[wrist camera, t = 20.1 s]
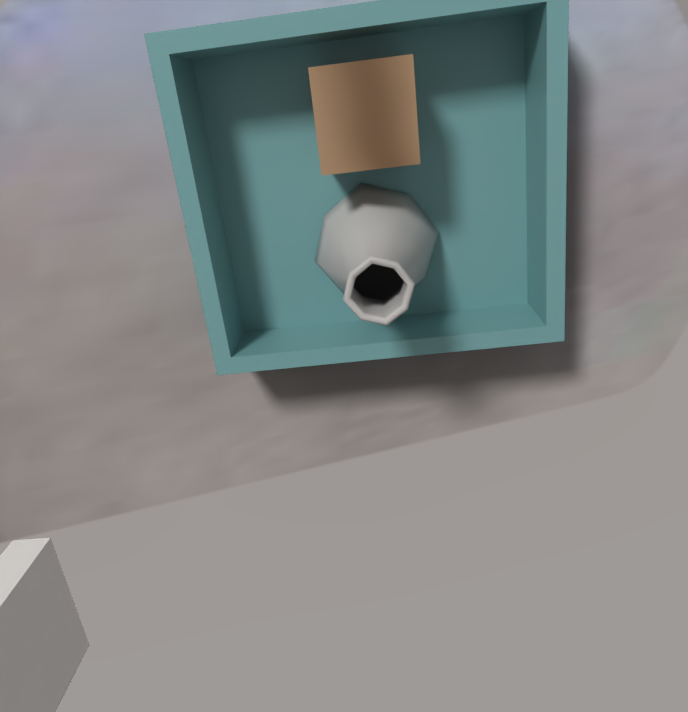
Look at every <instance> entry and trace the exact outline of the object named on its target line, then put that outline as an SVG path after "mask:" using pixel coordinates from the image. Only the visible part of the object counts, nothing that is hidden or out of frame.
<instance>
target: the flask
mask: <svg viewBox="0 0 688 712" xmlns="http://www.w3.org/2000/svg"><path fill="white" fill-rule="evenodd" d="M438 233H439V231H438V230H437V229H436V227H435V226H434V225H433V224H432V222H431V221H430V220H429V219H428V217H427V216H426V215H425V214H424V212H423V211H422V210H421V209H420V207H419V206H418V205H417V203H416V202H415V201H414V200H413V198H412V197H411V196H410V195H409V194H406V193H402V192H398V191H394V190H390V189H385V188H381V187H377V186H373V185H368V184H364V183H361V184H359V185H358V186H357V187H356V188H355V189H354V190H352V191H351V192H350V193H349V194H348V195H347V196H346V197H344V198H343V199H342V200H341V201H340V202H339V203H337V204H336V205H335V206H334V207H333V208H332V209H331V210H329V211H328V212H327V213H326V214H325V215H324V219H323V223H322V228H321V233H320V238H319V242H318V247H317V252H316V257H315V262H316V263H317V265H318V266H319V267H320V268H321V269H322V270H323V271H324V273H325V274H326V275H327V276H328V277H329V278H330V279H331V281H332V282H333V283H334V284H335V285H336V286H337V287H338V288H339V290H340V291H341V292H342V293H343V294H344V296H343V301H344V302H345V303H346V304H347V305H348V306H349V307H350V309H351V310H352V311H353V312H354V313H355V314H356V315H357V317H358V318H359V319H360V320H363V321H367V322H372V323H376V324H381V325H385V326H387V325H388V324H390V323H391V322H392V321H394V320H395V319H396V318H398V317H399V316H400V315H401V314H403V313H404V312H405V311H407V310H408V307H409V304H410V300H411V297H412V293H413V290H414V286H416V285H417V284H418V283H419V282H421V281H422V280H423V279H424V278H426V275H427V272H428V268H429V265H430V261H431V258H432V254H433V251H434V247H435V244H436V240H437V237H438Z"/></svg>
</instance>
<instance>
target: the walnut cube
mask: <svg viewBox="0 0 688 712" xmlns="http://www.w3.org/2000/svg"><path fill="white" fill-rule="evenodd" d="M308 72H309V80H310V88H311V96H312V104H313V112H314V120H315V128H316V136H317V144H318V152H319V160H320V168H321V176H322V175H331V174H339V173H348V172H357V171H365V170H374V169H382V168H391V167H400V166H408V165H417V164H420V150H419V135H418V120H417V105H416V90H415V75H414V60H413V54H408V55H401V56H393V57H385V58H378V59H370V60H362V61H354V62H347V63H339V64H331V65H323V66H316V67H308Z"/></svg>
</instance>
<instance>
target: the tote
mask: <svg viewBox="0 0 688 712" xmlns="http://www.w3.org/2000/svg"><path fill="white" fill-rule="evenodd" d="M568 24H569V0H379V1H372V2H365V3H358V4H351V5H344V6H337V7H330V8H323V9H316V10H309V11H302V12H295V13H288V14H281V15H274V16H267V17H260V18H253V19H246V20H239V21H232V22H225V23H218V24H211V25H204V26H197V27H190V28H183V29H176V30H169V31H162V32H155V33H147V34H144V36H145V41H146V45H147V50H148V54H149V59H150V64H151V68H152V73H153V78H154V82H155V87H156V92H157V96H158V101H159V106H160V110H161V115H162V120H163V124H164V129H165V134H166V138H167V143H168V148H169V152H170V157H171V162H172V166H173V171H174V176H175V180H176V185H177V190H178V194H179V199H180V204H181V208H182V213H183V218H184V222H185V227H186V232H187V236H188V241H189V246H190V250H191V255H192V260H193V264H194V269H195V274H196V278H197V283H198V288H199V292H200V297H201V301H202V306H203V311H204V315H205V320H206V325H207V329H208V334H209V339H210V343H211V348H212V353H213V357H214V362H215V367H216V371H217V375H224V374H234V373H244V372H254V371H265V370H275V369H285V368H295V367H305V366H316V365H326V364H336V363H346V362H356V361H367V360H377V359H387V358H397V357H407V356H418V355H428V354H438V353H448V352H458V351H469V350H479V349H489V348H499V347H509V346H520V345H530V344H540V343H550V342H560V341H564V337H565V259H566V180H567V102H568ZM408 54H413V60H414V75H415V90H416V105H417V120H418V135H419V150H420V164H417V165H408V166H400V167H391V168H382V169H374V170H365V171H357V172H348V173H339V174H331V175H322V176H321V168H320V160H319V152H318V144H317V136H316V128H315V120H314V112H313V104H312V96H311V88H310V80H309V72H308V67H316V66H323V65H331V64H339V63H347V62H354V61H362V60H370V59H378V58H385V57H393V56H401V55H408ZM361 183H364V184H368V185H373V186H377V187H381V188H385V189H390V190H394V191H398V192H402V193H406V194H409V195H410V196H411V197H412V198H413V200H414V201H415V202H416V203H417V205H418V206H419V207H420V209H421V210H422V211H423V212H424V214H425V215H426V216H427V217H428V219H429V220H430V221H431V222H432V224H433V225H434V226H435V227H436V229H437V230H438V231H439V233H438V237H437V240H436V244H435V247H434V251H433V254H432V258H431V261H430V265H429V268H428V272H427V275H426V278H424V279H423V280H422V281H421V282H419V283H418V284H417V285H416V286H414V290H413V293H412V297H411V300H410V304H409V307H408V310H407V311H405V312H404V313H403V314H401V315H400V316H399V317H398V318H396V319H395V320H394V321H392V322H391V323H390V324H388V325H387V326H385V325H381V324H376V323H372V322H367V321H363V320H360V319H359V318H358V317H357V315H356V314H355V313H354V312H353V311H352V310H351V309H350V307H349V306H348V305H347V304H346V303H345V302H344V301H343V296H344V294H343V293H342V292H341V291H340V290H339V288H338V287H337V286H336V285H335V284H334V283H333V282H332V281H331V279H330V278H329V277H328V276H327V275H326V274H325V273H324V271H323V270H322V269H321V268H320V267H319V266H318V265H317V263H316V262H315V257H316V252H317V247H318V242H319V238H320V233H321V228H322V223H323V219H324V215H325V214H326V213H327V212H328V211H329V210H331V209H332V208H333V207H334V206H335V205H336V204H337V203H339V202H340V201H341V200H342V199H343V198H344V197H346V196H347V195H348V194H349V193H350V192H351V191H352V190H354V189H355V188H356V187H357V186H358V185H359V184H361Z"/></svg>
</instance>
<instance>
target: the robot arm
mask: <svg viewBox="0 0 688 712" xmlns="http://www.w3.org/2000/svg"><path fill="white" fill-rule="evenodd" d="M88 647H89V642H88V640H87V637H86V634H85V631H84V629H83V626H82V623H81V621H80V618H79V615H78V612H77V609H76V607H75V604H74V601H73V598H72V596H71V593H70V590H69V587H68V585H67V582H66V579H65V576H64V574H63V571H62V568H61V565H60V563H59V560H58V557H57V554H56V551H55V549H54V546H53V543H52V540H51V538H40V539H27V540H15V541H12V542H11V543H10V544H9V546H8V547H7V548H6V549H5V551H4V552H3V553H2V554H1V556H0V712H55V711H56V709H57V707H58V705H59V703H60V701H61V699H62V697H63V696H64V693H65V691H66V690H67V688H68V686H69V684H70V682H71V680H72V678H73V676H74V674H75V672H76V670H77V668H78V666H79V664H80V662H81V660H82V658H83V657H84V655H85V652H86V651H87V648H88Z"/></svg>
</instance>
